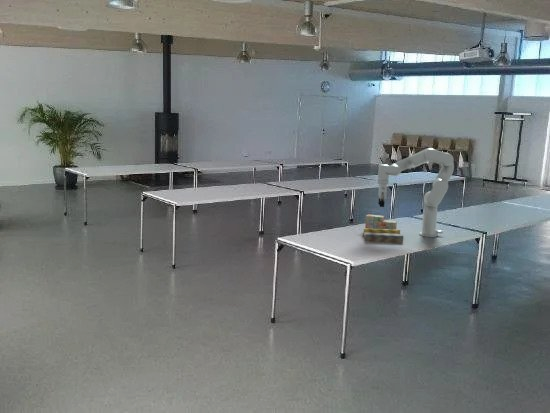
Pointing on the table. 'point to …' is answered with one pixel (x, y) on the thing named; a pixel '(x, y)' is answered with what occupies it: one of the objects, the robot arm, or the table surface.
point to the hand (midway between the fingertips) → (381, 205)
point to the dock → (382, 235)
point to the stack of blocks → (379, 222)
